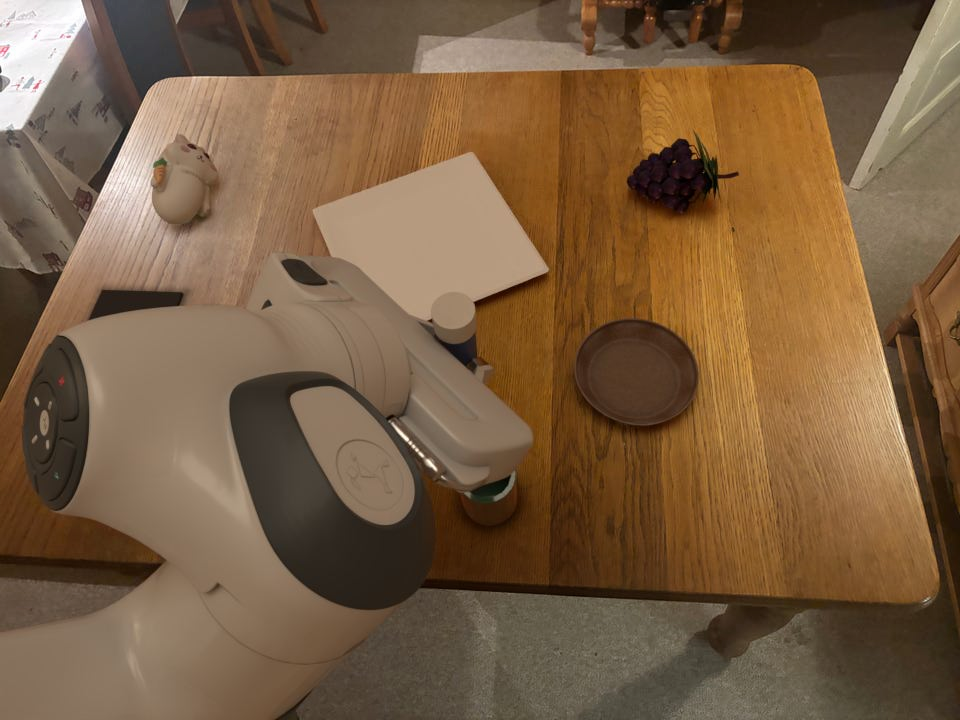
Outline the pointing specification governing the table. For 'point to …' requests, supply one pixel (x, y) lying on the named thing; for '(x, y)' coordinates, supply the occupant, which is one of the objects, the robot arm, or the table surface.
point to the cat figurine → (182, 182)
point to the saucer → (636, 371)
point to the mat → (132, 301)
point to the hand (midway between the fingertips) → (464, 353)
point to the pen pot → (492, 501)
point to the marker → (456, 325)
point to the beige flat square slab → (432, 235)
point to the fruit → (677, 175)
